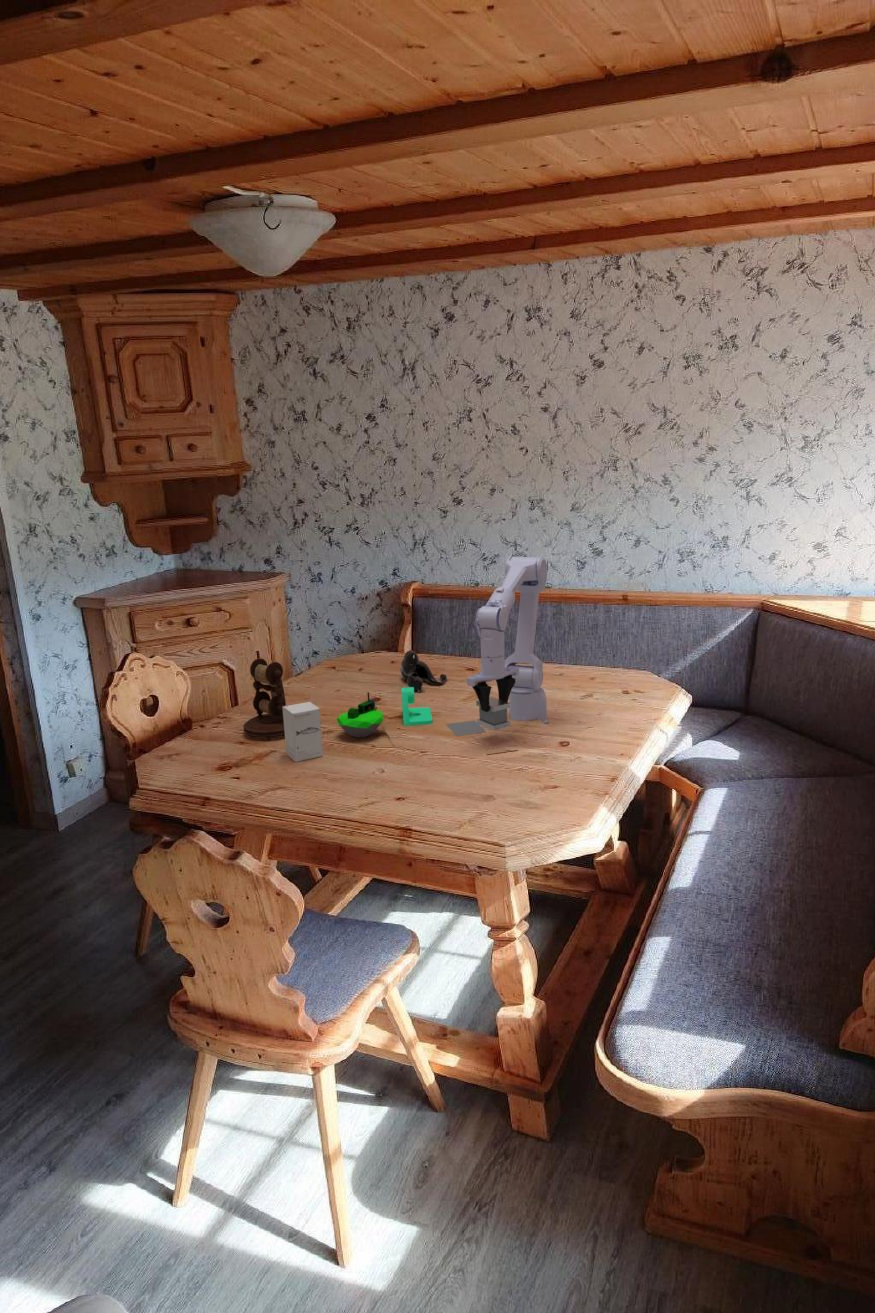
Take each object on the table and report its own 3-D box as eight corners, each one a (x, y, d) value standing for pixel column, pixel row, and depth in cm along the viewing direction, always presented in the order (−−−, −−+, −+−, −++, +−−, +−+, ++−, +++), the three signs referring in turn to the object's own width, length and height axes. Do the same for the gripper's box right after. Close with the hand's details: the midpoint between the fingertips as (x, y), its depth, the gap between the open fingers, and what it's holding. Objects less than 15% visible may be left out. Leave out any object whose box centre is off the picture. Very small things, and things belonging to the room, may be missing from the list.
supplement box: (295, 763, 225) (291, 713, 222) (285, 753, 231) (281, 705, 228) (324, 756, 228) (320, 708, 225) (313, 748, 234) (309, 700, 231)
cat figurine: (437, 682, 297) (448, 708, 280) (396, 674, 293) (404, 700, 277) (445, 655, 293) (457, 679, 277) (404, 646, 289) (413, 671, 273)
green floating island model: (359, 726, 250) (356, 687, 247) (393, 732, 243) (390, 692, 241) (329, 739, 241) (325, 698, 238) (363, 746, 234) (360, 704, 231)
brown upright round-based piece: (311, 730, 248) (305, 658, 243) (266, 745, 238) (259, 670, 233) (277, 719, 258) (270, 650, 253) (233, 734, 248) (225, 662, 242)
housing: (492, 719, 233) (492, 696, 231) (510, 726, 227) (509, 703, 226) (477, 723, 230) (476, 700, 229) (494, 730, 225) (493, 707, 223)
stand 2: (504, 738, 235) (504, 732, 235) (517, 750, 226) (517, 745, 226) (474, 742, 233) (474, 736, 233) (486, 755, 224) (486, 749, 224)
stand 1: (474, 725, 246) (474, 720, 245) (486, 737, 236) (486, 732, 236) (446, 729, 244) (445, 724, 243) (456, 741, 234) (456, 736, 234)
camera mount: (432, 730, 244) (431, 692, 242) (404, 731, 244) (402, 694, 241) (430, 715, 256) (428, 680, 253) (402, 717, 256) (400, 681, 253)
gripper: (506, 647, 231) (507, 698, 234) (458, 657, 223) (460, 710, 227) (523, 652, 225) (525, 705, 229) (476, 662, 218) (478, 717, 221)
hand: (494, 708), depth 227 cm, fingers closed on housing, 5 cm apart
